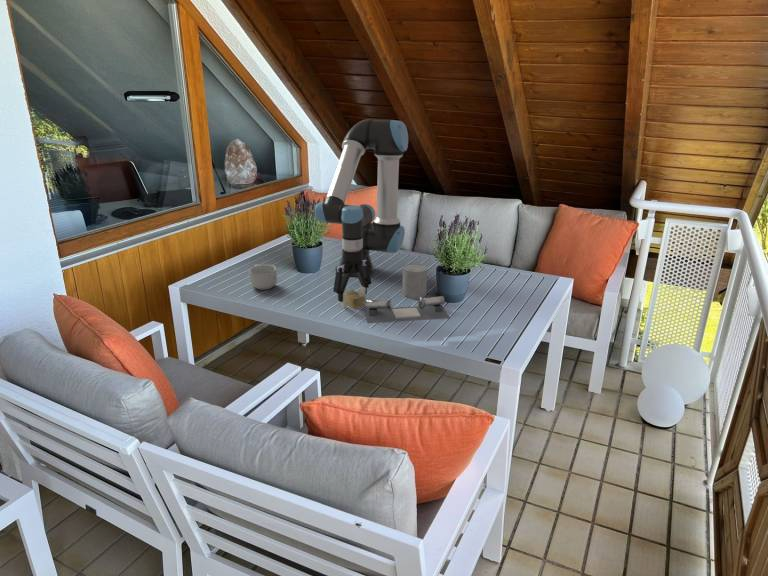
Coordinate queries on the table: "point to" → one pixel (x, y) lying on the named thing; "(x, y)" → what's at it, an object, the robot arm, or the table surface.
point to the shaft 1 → (377, 306)
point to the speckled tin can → (414, 281)
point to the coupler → (354, 299)
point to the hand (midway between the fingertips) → (352, 305)
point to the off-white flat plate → (406, 312)
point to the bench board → (389, 316)
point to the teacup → (263, 276)
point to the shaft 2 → (432, 303)
